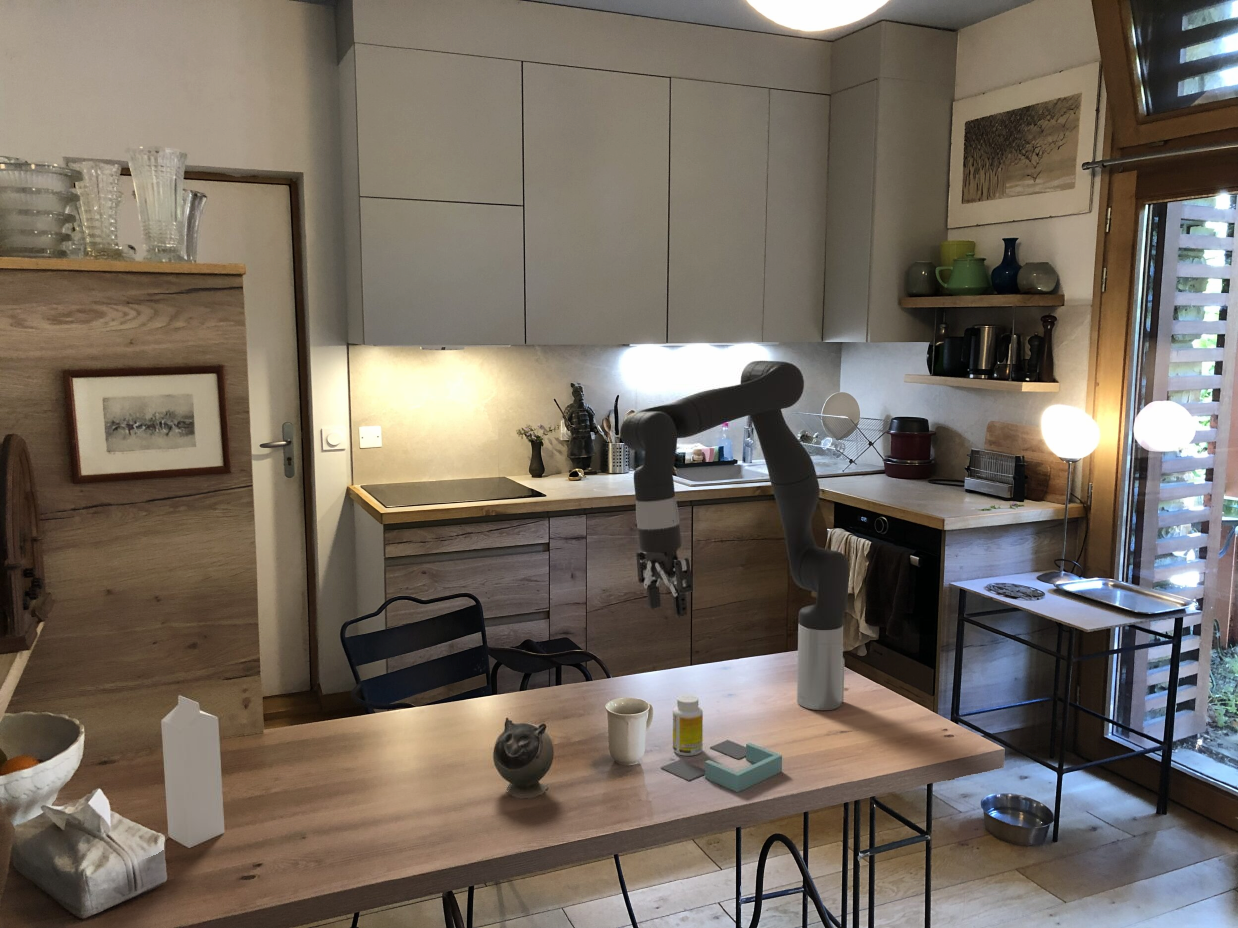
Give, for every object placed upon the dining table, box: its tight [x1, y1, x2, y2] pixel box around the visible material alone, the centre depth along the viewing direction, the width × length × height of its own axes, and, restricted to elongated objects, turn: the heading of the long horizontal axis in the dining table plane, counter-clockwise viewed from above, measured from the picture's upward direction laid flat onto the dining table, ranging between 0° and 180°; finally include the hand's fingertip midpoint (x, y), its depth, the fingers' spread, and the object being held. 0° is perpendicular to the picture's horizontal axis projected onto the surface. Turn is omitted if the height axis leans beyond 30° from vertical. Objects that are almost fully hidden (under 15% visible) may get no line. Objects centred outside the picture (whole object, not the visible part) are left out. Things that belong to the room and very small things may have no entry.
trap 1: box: [660, 758, 705, 782], centre depth 173 cm, size 5×7×1 cm
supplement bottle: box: [672, 694, 704, 757], centre depth 181 cm, size 6×6×10 cm
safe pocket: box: [704, 742, 783, 793], centre depth 171 cm, size 12×8×3 cm, turn 132°
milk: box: [160, 694, 225, 849], centre depth 150 cm, size 6×6×22 cm
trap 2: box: [709, 739, 746, 760], centre depth 182 cm, size 5×7×1 cm
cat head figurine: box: [492, 717, 555, 799], centre depth 165 cm, size 10×12×10 cm
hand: (667, 611), depth 174 cm, fingers open, 8 cm apart
